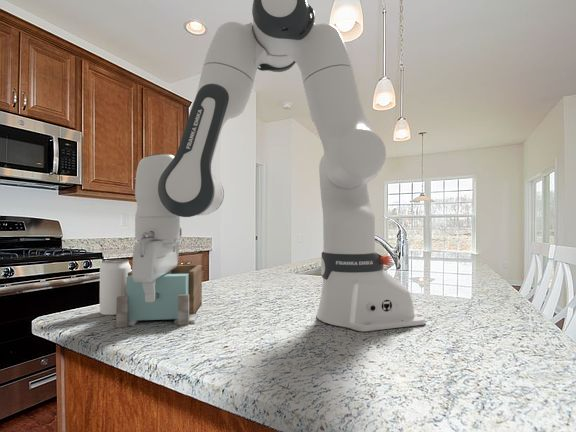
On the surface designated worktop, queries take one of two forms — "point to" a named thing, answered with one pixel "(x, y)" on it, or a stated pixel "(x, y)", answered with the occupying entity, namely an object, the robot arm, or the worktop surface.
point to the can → (112, 284)
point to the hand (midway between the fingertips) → (157, 296)
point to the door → (166, 297)
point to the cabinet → (186, 302)
